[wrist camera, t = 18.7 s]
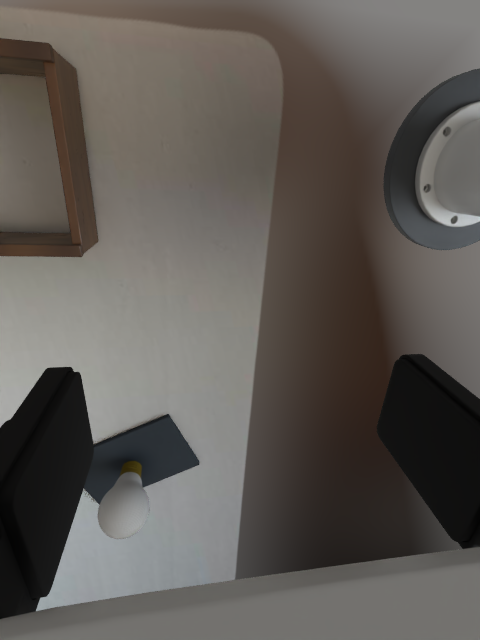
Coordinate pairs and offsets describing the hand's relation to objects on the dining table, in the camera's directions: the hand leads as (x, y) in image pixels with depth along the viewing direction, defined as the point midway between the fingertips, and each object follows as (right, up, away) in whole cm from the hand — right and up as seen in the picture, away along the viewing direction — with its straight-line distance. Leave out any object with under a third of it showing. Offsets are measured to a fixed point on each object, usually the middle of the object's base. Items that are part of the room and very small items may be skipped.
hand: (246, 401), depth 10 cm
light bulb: (-15, -18, +37) cm, 43 cm away
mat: (-15, -17, +37) cm, 44 cm away
